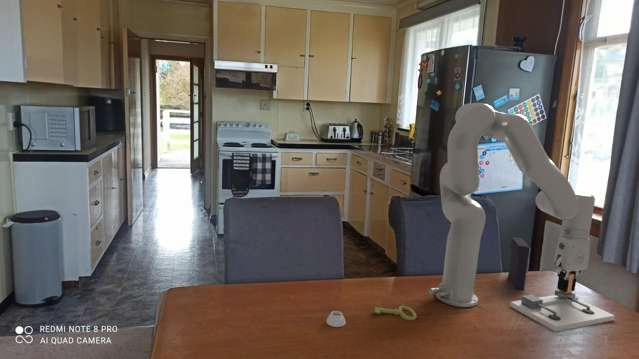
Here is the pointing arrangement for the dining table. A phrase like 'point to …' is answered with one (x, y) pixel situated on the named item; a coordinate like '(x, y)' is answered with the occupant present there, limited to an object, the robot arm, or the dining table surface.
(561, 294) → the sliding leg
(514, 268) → the calculator
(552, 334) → the dining table surface
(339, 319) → the white jar
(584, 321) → the gauge board
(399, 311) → the key
